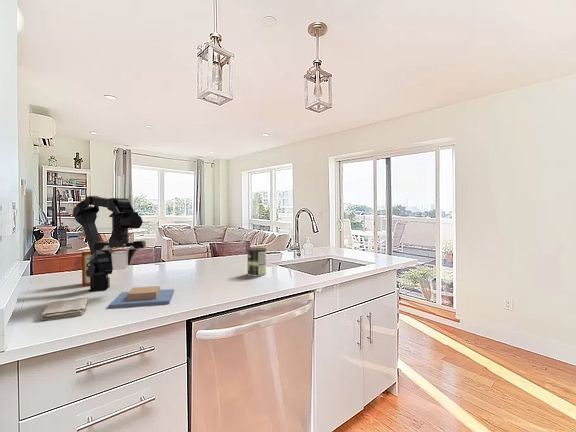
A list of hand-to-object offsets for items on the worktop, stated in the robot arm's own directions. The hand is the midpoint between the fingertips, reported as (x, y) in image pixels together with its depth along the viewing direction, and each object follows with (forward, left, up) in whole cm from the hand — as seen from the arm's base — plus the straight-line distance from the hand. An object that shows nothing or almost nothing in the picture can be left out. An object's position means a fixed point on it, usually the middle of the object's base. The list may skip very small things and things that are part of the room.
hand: (120, 265), depth 129 cm
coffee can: (+61, +24, -12) cm, 67 cm away
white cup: (0, 0, -1) cm, 1 cm away
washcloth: (-12, -20, -12) cm, 27 cm away
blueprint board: (+11, -12, -12) cm, 20 cm away
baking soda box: (-17, +23, -12) cm, 31 cm away
